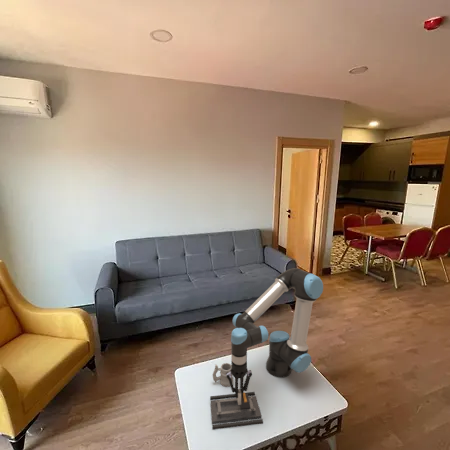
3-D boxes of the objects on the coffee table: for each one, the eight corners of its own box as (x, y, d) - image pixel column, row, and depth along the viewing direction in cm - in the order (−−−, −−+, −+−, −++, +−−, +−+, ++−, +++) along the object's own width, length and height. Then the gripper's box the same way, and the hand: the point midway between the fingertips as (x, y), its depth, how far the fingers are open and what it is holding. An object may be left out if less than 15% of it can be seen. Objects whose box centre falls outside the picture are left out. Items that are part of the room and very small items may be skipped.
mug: (234, 386, 146) (234, 367, 144) (213, 389, 143) (213, 370, 141) (231, 376, 153) (231, 357, 151) (211, 379, 151) (211, 360, 149)
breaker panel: (255, 398, 137) (255, 393, 137) (261, 418, 126) (261, 413, 125) (210, 403, 135) (210, 397, 134) (212, 424, 123) (212, 418, 122)
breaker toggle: (247, 402, 133) (247, 391, 132) (249, 410, 128) (249, 400, 127) (239, 403, 133) (239, 392, 132) (241, 411, 128) (241, 400, 127)
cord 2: (262, 421, 124) (262, 419, 124) (263, 423, 123) (263, 421, 123) (212, 427, 121) (212, 424, 121) (212, 429, 120) (212, 427, 120)
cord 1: (254, 393, 140) (254, 391, 140) (254, 395, 139) (255, 393, 139) (210, 398, 138) (210, 396, 137) (210, 400, 136) (210, 398, 136)
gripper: (250, 354, 130) (250, 395, 134) (224, 356, 129) (225, 397, 133) (254, 364, 123) (253, 407, 127) (226, 366, 121) (227, 410, 125)
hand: (239, 402), depth 130 cm, fingers closed
